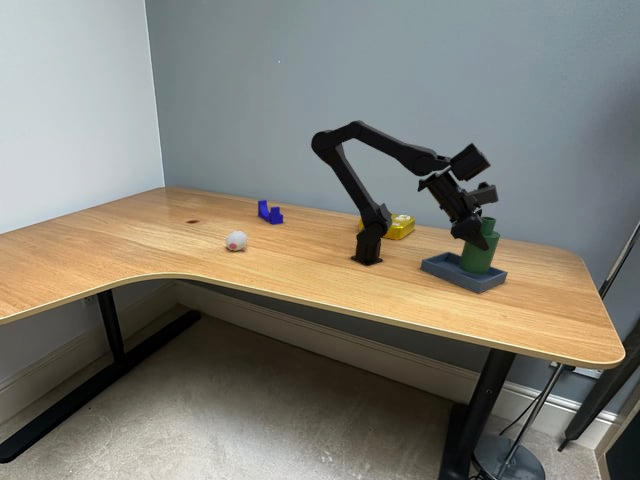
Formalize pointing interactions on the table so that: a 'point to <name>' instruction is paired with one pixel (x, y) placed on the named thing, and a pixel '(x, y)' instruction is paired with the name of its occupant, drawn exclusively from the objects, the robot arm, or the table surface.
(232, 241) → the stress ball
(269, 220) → the cable clip
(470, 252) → the bottle
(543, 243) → the table surface
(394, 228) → the element tile
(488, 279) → the tray
